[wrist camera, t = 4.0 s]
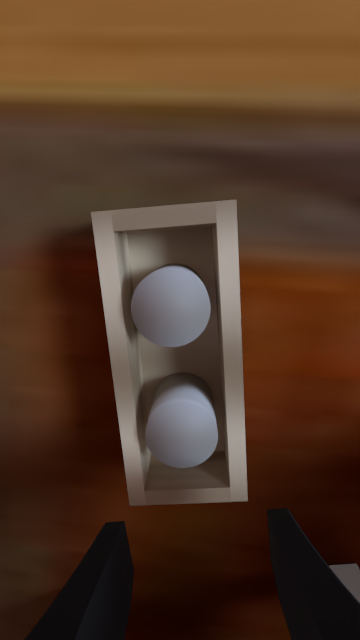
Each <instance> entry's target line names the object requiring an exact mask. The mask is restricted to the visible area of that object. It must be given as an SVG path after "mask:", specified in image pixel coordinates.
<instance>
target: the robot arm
mask: <svg viewBox="0 0 360 640" xmlns="http://www.w3.org/2000/svg"><path fill="white" fill-rule="evenodd" d="M267 515H268V528H269V541H270V553H271V563H272V567H273V572H274V577H275V581H276V586H277V590H278V595H279V599H280V603H281V606H282V609H283V613H284V616H285V619H286V622H287V625H288V629H289V632H290V635H291V638H292V640H360V603H359V602H358V600H357V599H356V598H355V597H354V596H353V595H352V594H351V592H350V591H349V590H348V589H347V588H346V587H345V585H344V584H343V583H342V582H341V581H340V579H339V578H338V577H337V576H336V575H335V573H334V572H333V571H332V569H331V568H330V567H329V566H328V564H327V563H326V562H325V561H324V559H323V558H322V557H321V555H320V554H319V553H318V552H317V550H316V549H315V548H314V546H313V545H312V543H311V542H310V541H309V539H308V538H307V536H306V535H305V534H304V532H303V531H302V529H301V528H300V526H299V525H298V523H297V522H296V520H295V519H294V517H293V515H292V514H291V512H290V511H289V510H288V509H287V508H281V509H269V510H267ZM133 575H134V569H133V564H132V559H131V553H130V548H129V543H128V538H127V533H126V528H125V523H124V521H120V522H108V523H105V525H104V526H103V527H102V529H101V531H100V532H99V534H98V535H97V537H96V539H95V540H94V542H93V544H92V545H91V547H90V548H89V550H88V551H87V553H86V555H85V556H84V558H83V559H82V561H81V562H80V564H79V565H78V567H77V568H76V570H75V571H74V573H73V574H72V576H71V577H70V579H69V580H68V582H67V583H66V585H65V586H64V587H63V589H62V590H61V592H60V593H59V595H58V596H57V597H56V599H55V600H54V601H53V603H52V604H51V605H50V607H49V608H48V609H47V611H46V612H45V614H44V615H43V616H42V618H41V619H40V620H39V622H38V623H37V624H36V625H35V627H34V628H33V629H32V631H31V632H30V633H29V634H28V636H27V637H26V638H25V639H24V640H124V637H125V632H126V627H127V622H128V617H129V611H130V604H131V595H132V585H133Z"/></svg>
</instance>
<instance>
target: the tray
mask: <svg viewBox="0 0 360 640" xmlns="http://www.w3.org/2000/svg"><path fill="white" fill-rule="evenodd" d="M91 217H92V224H93V232H94V239H95V247H96V255H97V262H98V270H99V277H100V285H101V292H102V300H103V307H104V315H105V323H106V330H107V338H108V345H109V353H110V360H111V368H112V375H113V383H114V391H115V398H116V406H117V413H118V421H119V428H120V436H121V443H122V451H123V459H124V466H125V474H126V481H127V489H128V496H129V504H130V506H140V505H164V504H189V503H213V502H238V501H248V494H247V468H246V441H245V415H244V389H243V362H242V336H241V309H240V283H239V256H238V230H237V204H236V200H226V201H214V202H203V203H191V204H179V205H168V206H156V207H144V208H133V209H121V210H110V211H98V212H91Z"/></svg>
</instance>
